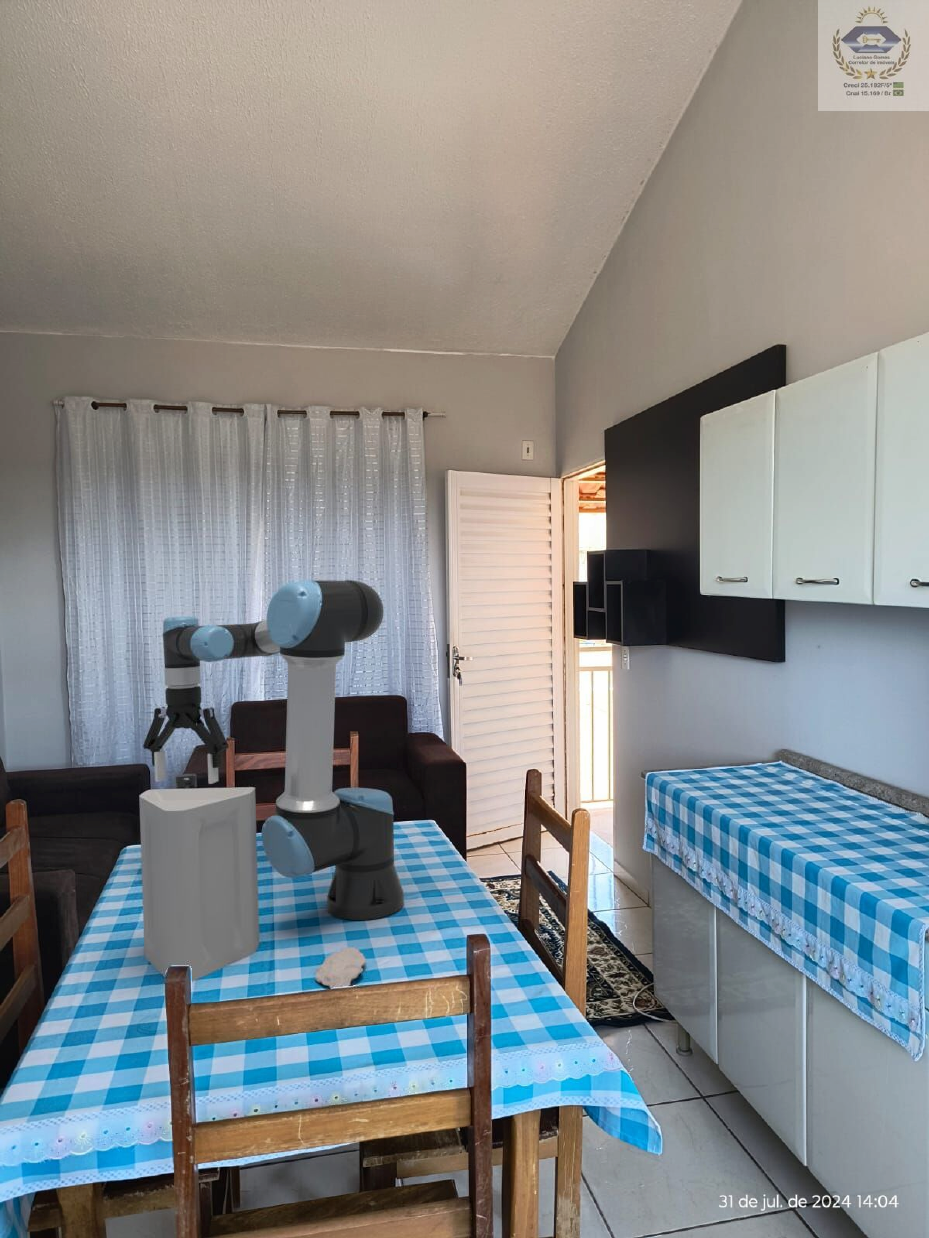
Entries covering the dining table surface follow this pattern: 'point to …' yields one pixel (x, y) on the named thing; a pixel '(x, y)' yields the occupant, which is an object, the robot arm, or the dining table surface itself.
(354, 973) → the stone tool
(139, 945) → the dining table surface
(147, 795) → the grey triangular prism
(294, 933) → the dining table surface
